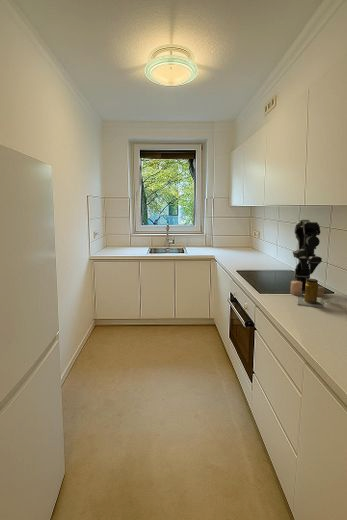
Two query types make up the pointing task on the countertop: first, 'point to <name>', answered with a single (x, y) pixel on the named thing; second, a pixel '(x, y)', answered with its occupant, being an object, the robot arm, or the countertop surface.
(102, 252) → the countertop surface
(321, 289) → the walnut block
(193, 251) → the countertop surface
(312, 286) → the condiment
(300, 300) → the slate mat
